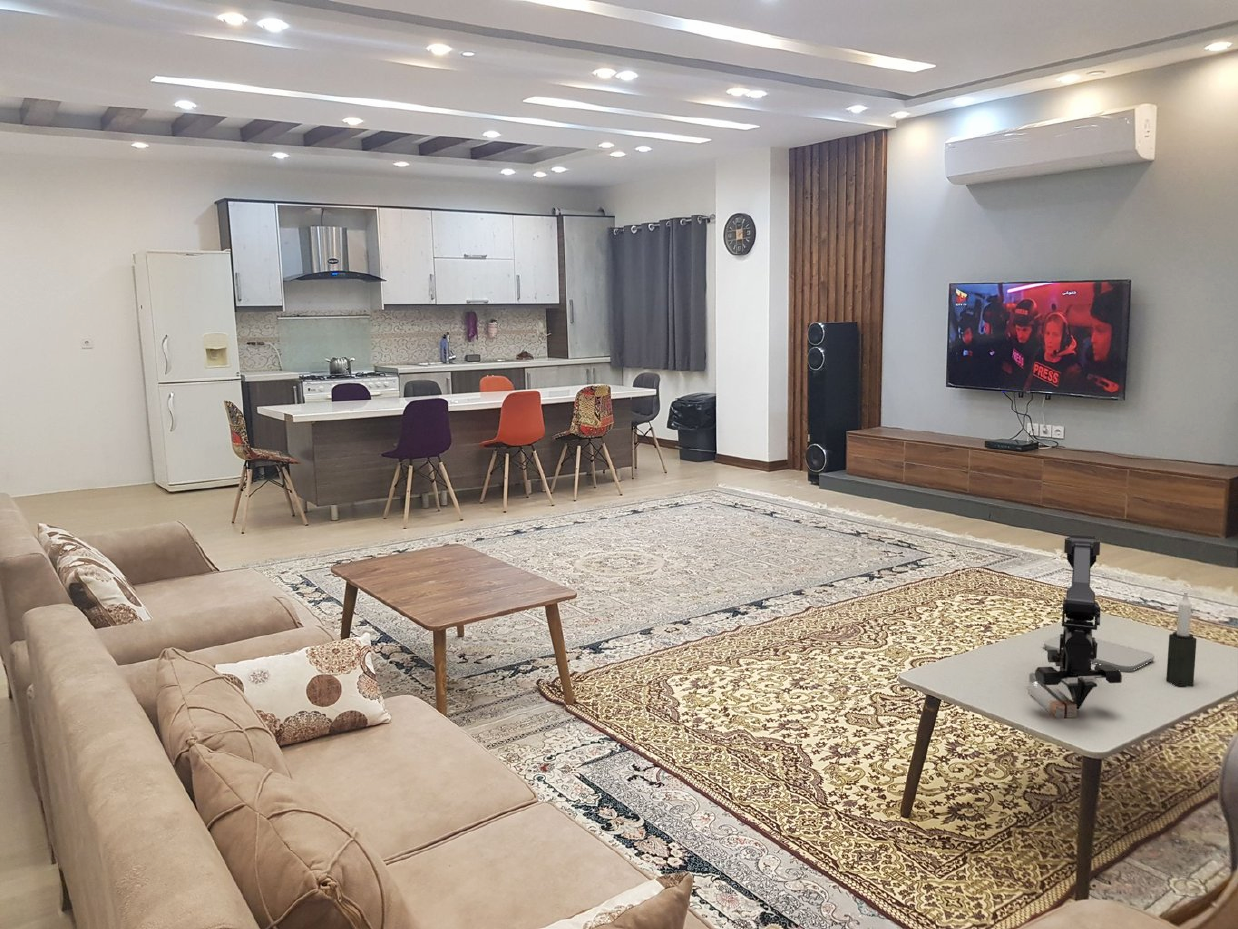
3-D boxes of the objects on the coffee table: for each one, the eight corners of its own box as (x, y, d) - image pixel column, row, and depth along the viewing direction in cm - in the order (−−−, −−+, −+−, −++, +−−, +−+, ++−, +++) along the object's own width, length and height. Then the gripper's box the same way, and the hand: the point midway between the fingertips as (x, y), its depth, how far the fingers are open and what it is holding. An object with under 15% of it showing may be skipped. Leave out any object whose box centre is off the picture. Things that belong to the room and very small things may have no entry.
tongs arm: (1039, 692, 246) (1040, 680, 245) (1048, 691, 246) (1048, 680, 245) (1066, 717, 230) (1067, 705, 229) (1076, 717, 230) (1076, 704, 229)
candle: (1164, 680, 252) (1170, 589, 248) (1182, 679, 252) (1188, 588, 249) (1176, 687, 247) (1183, 594, 243) (1195, 686, 247) (1201, 593, 244)
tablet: (1129, 676, 257) (1129, 668, 256) (1039, 650, 278) (1039, 643, 277) (1158, 662, 266) (1158, 654, 266) (1069, 638, 287) (1069, 631, 287)
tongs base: (1022, 687, 249) (1023, 673, 249) (1038, 687, 249) (1039, 672, 249) (1054, 718, 230) (1055, 702, 229) (1071, 718, 230) (1072, 702, 229)
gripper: (1100, 635, 238) (1099, 695, 240) (1026, 638, 238) (1025, 698, 240) (1123, 649, 227) (1122, 712, 229) (1045, 652, 227) (1044, 714, 229)
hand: (1077, 708), depth 232 cm, fingers closed
